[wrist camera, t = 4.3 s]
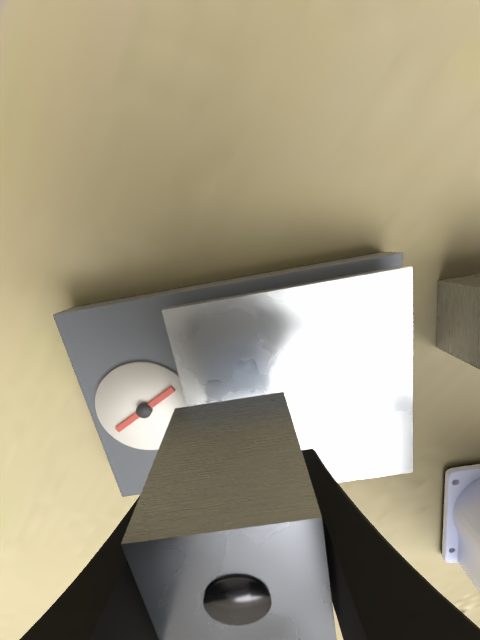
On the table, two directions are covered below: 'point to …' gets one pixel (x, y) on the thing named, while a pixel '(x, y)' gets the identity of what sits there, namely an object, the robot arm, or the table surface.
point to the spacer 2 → (459, 318)
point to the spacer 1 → (231, 529)
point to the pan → (313, 363)
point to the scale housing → (157, 358)
